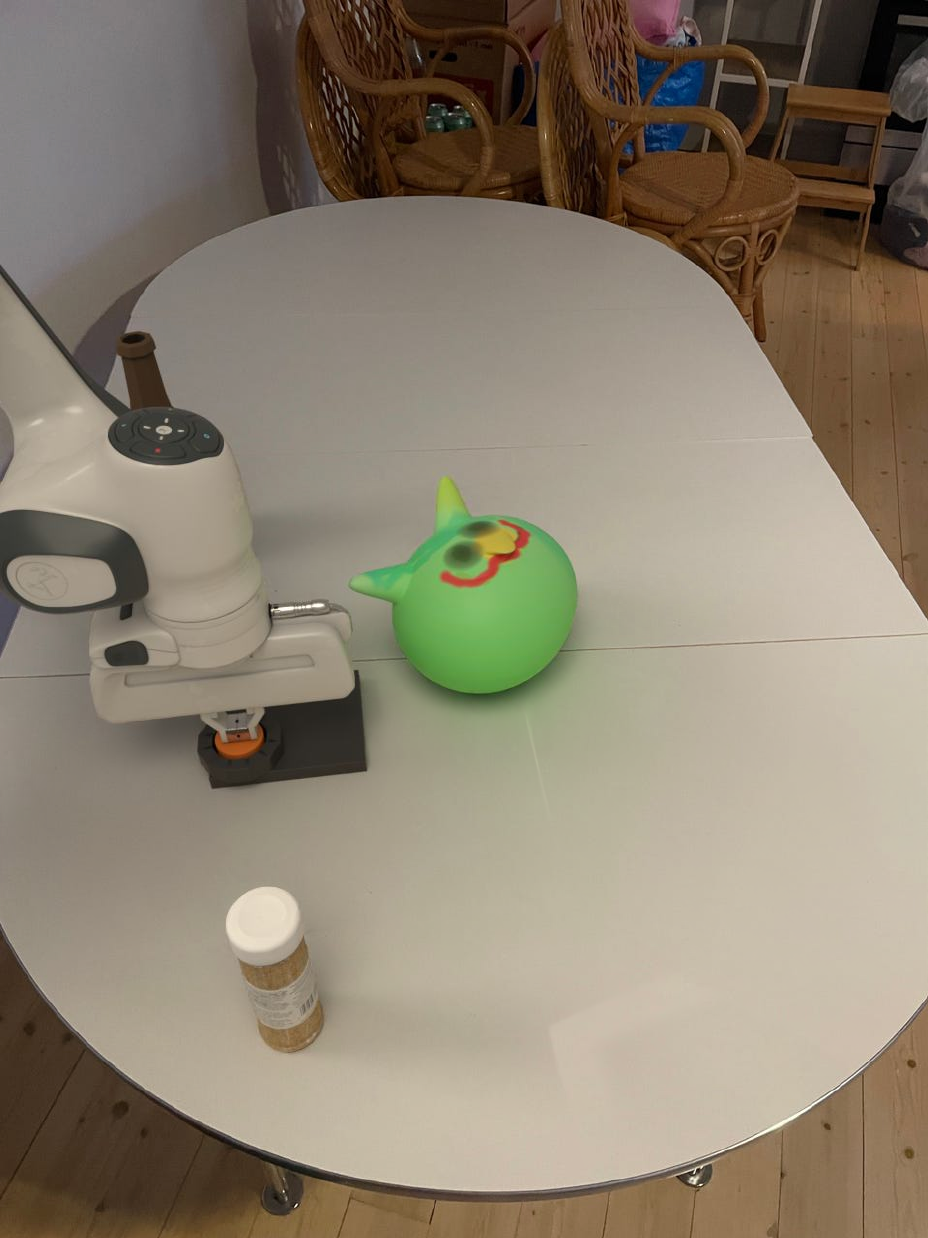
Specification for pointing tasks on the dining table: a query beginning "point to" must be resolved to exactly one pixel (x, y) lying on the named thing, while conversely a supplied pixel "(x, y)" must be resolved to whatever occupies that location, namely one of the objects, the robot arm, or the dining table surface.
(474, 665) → the toy bird
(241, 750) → the button
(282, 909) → the sprinkles bottle
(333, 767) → the black button mount
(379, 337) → the dining table surface
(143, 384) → the beer bottle
